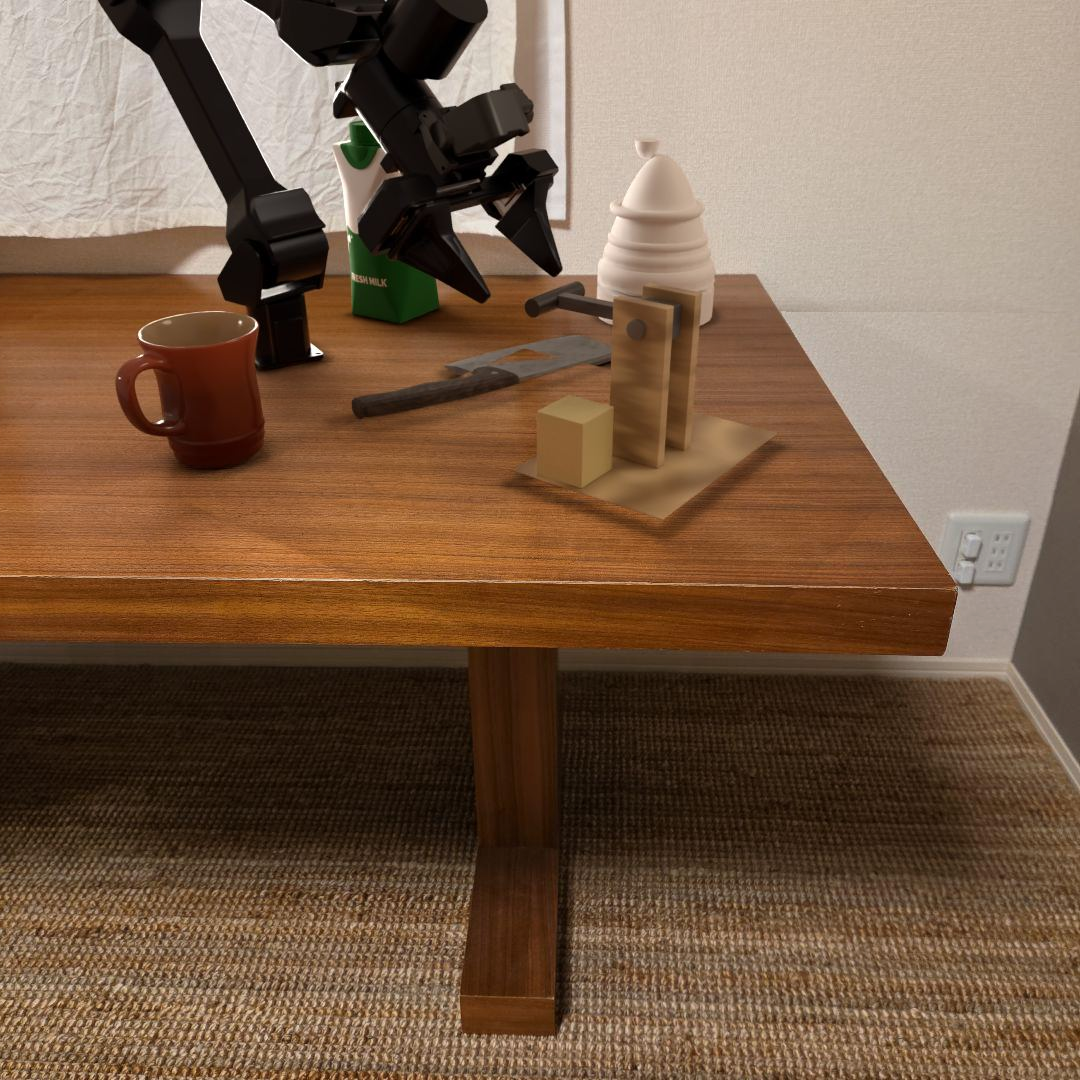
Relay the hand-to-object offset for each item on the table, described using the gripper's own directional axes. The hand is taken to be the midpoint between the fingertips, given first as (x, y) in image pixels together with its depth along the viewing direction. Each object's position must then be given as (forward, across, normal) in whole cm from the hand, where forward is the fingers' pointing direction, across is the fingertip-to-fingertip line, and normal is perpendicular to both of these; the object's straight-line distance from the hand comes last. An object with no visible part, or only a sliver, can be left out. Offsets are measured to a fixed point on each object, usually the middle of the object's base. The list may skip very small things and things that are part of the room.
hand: (524, 286), depth 79 cm
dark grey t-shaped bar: (+7, 0, -4) cm, 8 cm away
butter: (+14, -6, +1) cm, 16 cm away
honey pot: (+3, +34, +14) cm, 37 cm away
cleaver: (+2, +7, +15) cm, 17 cm away
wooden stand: (+17, 0, 0) cm, 17 cm away
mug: (-3, -20, +20) cm, 29 cm away
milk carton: (-14, +18, +31) cm, 39 cm away
